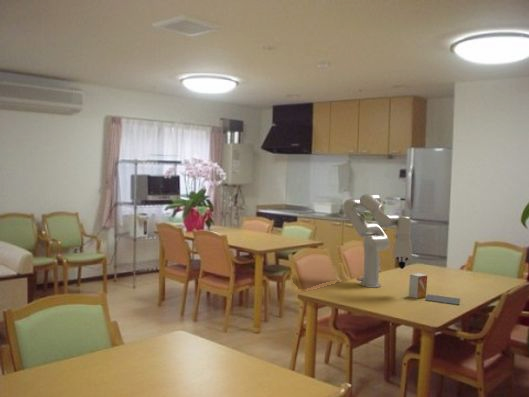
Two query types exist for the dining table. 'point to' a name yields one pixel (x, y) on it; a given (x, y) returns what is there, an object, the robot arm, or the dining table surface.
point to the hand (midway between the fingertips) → (402, 268)
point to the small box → (417, 285)
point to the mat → (442, 299)
